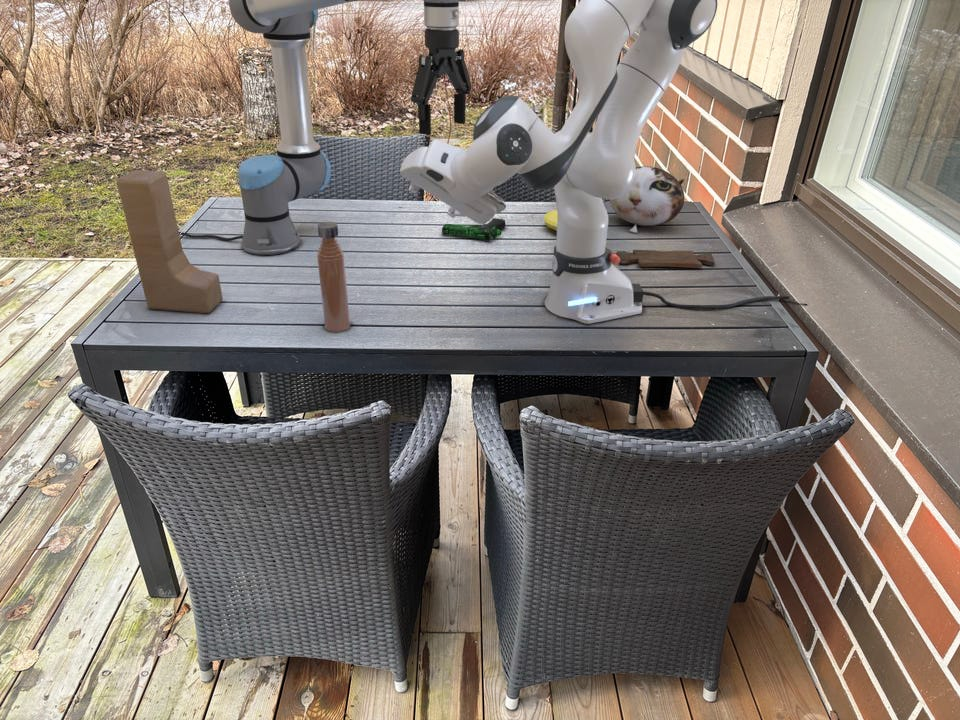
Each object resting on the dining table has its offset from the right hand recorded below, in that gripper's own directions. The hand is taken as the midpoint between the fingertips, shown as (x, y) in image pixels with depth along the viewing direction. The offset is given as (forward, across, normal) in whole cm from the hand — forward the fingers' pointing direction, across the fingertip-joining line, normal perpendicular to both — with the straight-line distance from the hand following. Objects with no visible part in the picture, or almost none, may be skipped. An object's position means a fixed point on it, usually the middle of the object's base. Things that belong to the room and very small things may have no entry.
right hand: (431, 201), depth 145 cm
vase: (+35, -55, -38) cm, 76 cm away
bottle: (+26, +1, +24) cm, 35 cm away
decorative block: (+50, +29, +27) cm, 64 cm away
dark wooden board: (+8, -70, -27) cm, 76 cm away
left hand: (+14, -1, -27) cm, 30 cm away
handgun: (+47, -32, -28) cm, 64 cm away
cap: (+13, +15, +10) cm, 22 cm away
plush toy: (+26, -74, -48) cm, 92 cm away
